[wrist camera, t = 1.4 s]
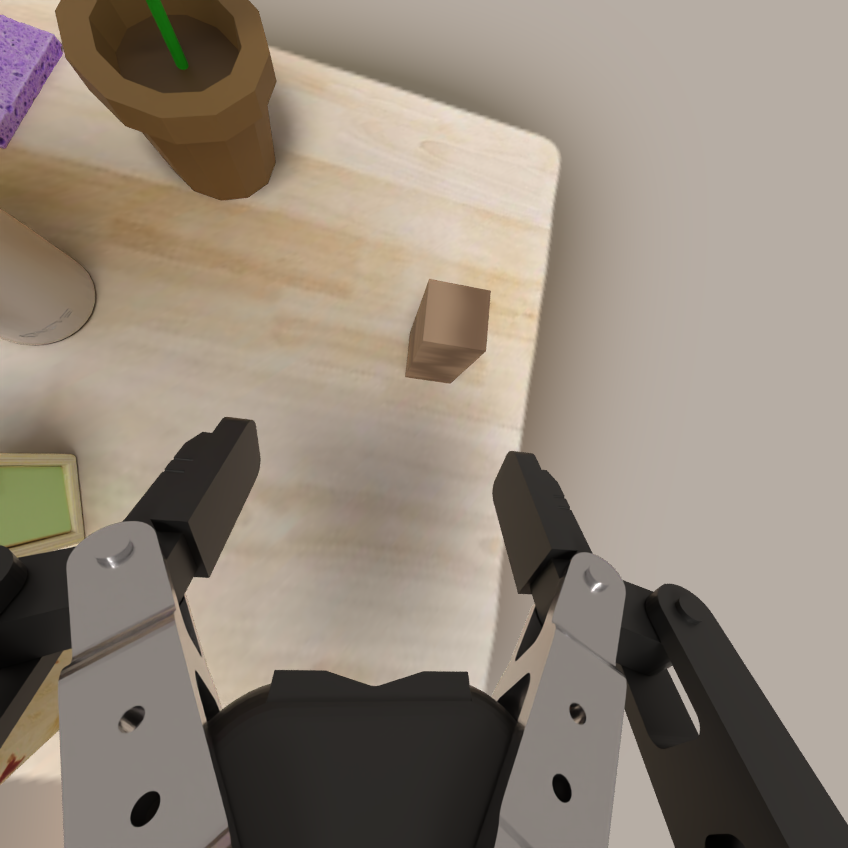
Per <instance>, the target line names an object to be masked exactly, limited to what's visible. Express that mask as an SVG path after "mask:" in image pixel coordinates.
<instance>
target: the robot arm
mask: <svg viewBox="0 0 848 848" xmlns="http://www.w3.org/2000/svg"><path fill="white" fill-rule="evenodd" d="M94 304H95V289H94V285H93V282H92V280H91V278H90V276H89V274H88V273H87V271H86V270H85V269H84V268H83V267H82V266H81V265H80V264H79V263H78V262H76V261H75V260H74V259H72V258H71V257H69V256H68V255H67V254H65V253H64V252H62V251H61V250H59V249H58V248H57V247H55V246H54V245H52V244H51V243H49V242H48V241H46V240H45V239H44V238H42V237H41V236H39V235H38V234H37V233H35V232H34V231H32V230H31V229H30V228H28V227H27V226H25V225H24V224H22V223H21V222H19V221H18V220H17V219H15V218H14V217H12V216H11V215H9V214H8V213H7V212H5V211H4V210H2V209H1V208H0V338H2V339H5V340H8V341H11V342H15V343H19V344H26V345H43V344H49V343H53V342H57V341H60V340H62V339H64V338H66V337H69V336H70V335H72V334H73V333H75V332H76V331H77V330H79V329H80V328H81V327H82V326H83V325H84V324H85V322H86V321H87V320H88V318H89V316H90V315H91V313H92V310H93V307H94ZM259 469H260V451H259V444H258V437H257V430H256V424H255V422H254V420H248V419H240V418H231V417H224V418H223V419H222V420H221V421H220V423H219V424H218V426H217V427H216V428H215V430H214V431H213V433H207V432H202V433H200V434H199V435H197V436H195V437H194V438H192V439H191V440H189V441H188V442H186V443H185V444H184V445H183V446H182V448H181V449H180V450H179V451H178V453H177V454H176V455H175V457H174V460H171V462H170V463H169V464H168V465H167V467H166V468H165V471H164V472H162V473H161V474H160V475H159V477H158V478H157V479H156V480H155V482H154V483H153V484H152V486H151V487H150V488H149V489H148V491H147V492H146V493H145V494H144V496H143V497H142V498H141V499H140V501H139V502H138V503H137V504H136V506H135V507H134V508H133V510H132V511H131V512H130V513H129V515H128V516H127V517H126V518H125V519H124V520H123V522H120V523H116V524H112V525H109V526H107V527H104V528H102V529H100V530H98V531H96V532H94V533H92V534H91V535H89V536H88V537H86V538H85V539H84V540H83V541H81V542H80V543H79V544H78V545H77V546H76V547H72V548H67V549H61V550H56V551H51V552H45V553H40V554H34V555H29V556H24V557H18V558H17V557H16V556H15V555H14V554H13V553H12V552H11V551H10V550H9V549H8V548H6V547H5V546H2V545H0V749H1V747H2V745H3V744H4V742H5V741H6V739H7V738H8V736H9V735H10V733H11V731H12V730H13V728H14V727H15V725H16V724H17V722H18V721H19V719H20V717H21V716H22V714H23V713H24V711H25V710H26V708H27V706H28V705H29V703H30V702H31V700H32V699H33V697H34V696H35V694H36V692H37V691H38V689H39V688H40V686H41V685H42V683H43V682H44V680H45V678H46V677H47V675H48V674H49V672H50V671H51V669H52V668H53V666H54V664H55V663H56V661H57V660H58V658H59V657H60V655H61V654H62V652H63V651H64V650H68V649H72V660H71V663H70V664H69V665H67V666H65V667H64V668H63V669H62V671H61V673H60V676H59V680H58V707H59V732H60V756H61V780H62V803H63V804H62V805H63V829H64V848H608V843H609V833H610V825H611V817H612V808H613V800H614V792H615V783H616V775H617V766H618V757H619V749H620V741H621V732H622V724H623V715H624V709H625V711H626V714H627V717H628V720H629V722H630V725H631V728H632V730H633V733H634V736H635V739H636V741H637V744H638V747H639V750H640V752H641V755H642V758H643V761H644V764H645V766H646V769H647V772H648V774H649V777H650V780H651V783H652V785H653V788H654V791H655V794H656V796H657V799H658V802H659V805H660V807H661V810H662V813H663V816H664V818H665V821H666V824H667V826H668V829H669V832H670V835H671V838H672V840H673V843H674V846H675V848H848V825H847V823H846V821H845V820H844V818H843V817H842V815H841V814H840V812H839V811H838V809H837V808H836V806H835V804H834V803H833V801H832V800H831V798H830V796H829V795H828V793H827V792H826V790H825V789H824V787H823V786H822V784H821V782H820V781H819V779H818V778H817V776H816V775H815V773H814V772H813V770H812V768H811V767H810V765H809V764H808V762H807V761H806V759H805V757H804V756H803V755H802V753H801V751H800V750H799V748H798V747H797V745H796V744H795V742H794V740H793V739H792V737H791V736H790V734H789V733H788V731H787V729H786V728H785V726H784V725H783V723H782V722H781V720H780V719H779V717H778V715H777V714H776V712H775V711H774V709H773V708H772V706H771V705H770V703H769V701H768V700H767V698H766V697H765V695H764V694H763V692H762V690H761V689H760V687H759V686H758V684H757V683H756V681H755V680H754V678H753V677H752V675H751V673H750V672H749V670H748V669H747V667H746V666H745V664H744V663H743V661H742V659H741V658H740V656H739V655H738V653H737V652H736V650H735V649H734V647H733V645H732V644H731V642H730V641H729V639H728V637H727V636H726V634H725V633H724V631H723V630H722V628H721V627H720V625H719V623H718V622H717V621H716V619H715V617H714V616H713V614H712V613H711V611H710V610H709V609H708V608H707V606H706V605H705V604H704V603H703V602H702V601H701V600H700V599H699V598H698V597H696V596H695V595H694V594H693V593H691V592H690V591H688V590H686V589H684V588H683V587H681V586H678V585H674V584H664V585H662V586H661V587H659V588H658V589H657V590H655V591H654V592H653V591H650V590H647V589H644V588H642V587H639V586H636V585H634V584H631V583H629V582H626V581H624V580H622V579H621V577H620V575H619V573H618V572H617V571H616V570H615V569H614V567H613V566H612V565H611V564H609V563H608V562H607V561H606V560H604V559H603V558H601V557H599V556H597V555H594V554H593V553H592V551H591V549H590V547H589V545H588V543H587V541H586V539H585V537H584V535H583V533H582V531H581V529H580V527H579V525H578V523H577V521H576V519H575V517H574V515H573V513H572V511H571V510H570V506H569V504H568V502H567V500H566V499H564V494H563V492H562V490H561V488H560V486H559V484H558V482H557V481H556V480H555V479H554V478H553V477H552V476H551V475H550V474H549V472H547V470H541V468H540V465H539V463H538V461H537V459H536V457H535V455H534V454H532V453H524V452H516V451H510V452H508V454H507V455H506V458H505V460H504V462H503V464H502V466H501V468H500V470H499V473H498V475H497V477H496V479H495V481H494V484H493V492H492V494H493V501H494V505H495V509H496V513H497V516H498V520H499V524H500V528H501V531H502V535H503V539H504V542H505V546H506V550H507V554H508V557H509V561H510V565H511V569H512V572H513V576H514V580H515V583H516V587H517V591H518V594H532V596H533V599H534V602H535V603H534V604H533V606H532V607H531V610H530V612H529V614H528V617H527V620H526V622H525V624H524V627H523V629H522V632H521V634H520V637H519V639H518V642H517V645H516V647H515V650H514V652H513V655H512V657H511V660H510V662H509V664H508V666H507V668H506V670H505V672H504V674H503V675H502V677H501V678H500V680H499V682H498V684H497V686H496V688H495V690H494V692H493V694H492V696H491V697H490V696H489V695H487V694H486V693H485V692H483V691H481V690H479V689H477V688H475V687H473V686H470V685H469V677H468V672H436V671H423V672H420V673H417V674H414V675H411V676H408V677H405V678H401V679H398V680H395V681H392V682H389V683H386V684H383V685H380V686H370V685H367V684H364V683H361V682H358V681H355V680H352V679H349V678H346V677H343V676H340V675H337V674H334V673H331V672H328V671H315V670H275V671H274V675H273V679H272V683H271V684H268V685H265V686H262V687H260V688H257V689H255V690H253V691H251V692H248V693H247V694H245V695H243V696H242V697H240V698H238V699H236V700H235V701H233V702H232V703H231V704H229V705H228V706H226V707H225V708H224V709H222V706H221V703H220V700H219V696H218V693H217V690H216V687H215V684H214V681H213V679H212V676H211V673H210V671H209V668H208V666H207V663H206V660H205V657H204V653H203V650H202V647H201V643H200V640H199V636H198V633H197V630H196V626H195V623H194V620H193V616H192V613H191V609H190V606H189V603H188V599H187V596H186V593H185V592H186V590H187V588H188V586H189V584H190V582H191V580H192V578H193V577H205V578H209V577H210V575H211V573H212V571H213V569H214V567H215V565H216V563H217V560H218V558H219V556H220V554H221V552H222V550H223V548H224V546H225V544H226V541H227V539H228V537H229V535H230V533H231V531H232V529H233V527H234V525H235V522H236V520H237V518H238V516H239V514H240V512H241V510H242V508H243V506H244V503H245V501H246V499H247V497H248V495H249V493H250V491H251V489H252V487H253V484H254V482H255V480H256V478H257V476H258V473H259ZM671 666H673V667H674V669H675V671H676V673H677V675H678V677H679V679H680V681H681V683H682V685H683V687H684V689H685V691H686V693H687V695H688V697H689V699H690V702H691V704H692V706H693V708H694V710H695V712H696V714H697V716H698V719H699V723H700V734H699V735H698V732H697V730H696V728H695V726H694V724H693V722H692V720H691V718H690V716H689V714H688V712H687V710H686V708H685V705H684V703H683V701H682V699H681V697H680V695H679V693H678V691H677V689H676V687H675V684H674V682H673V680H672V678H671V676H670V674H669V672H668V670H667V668H669V667H671Z"/></svg>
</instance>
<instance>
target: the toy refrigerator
mask: <svg viewBox="0 0 848 848" xmlns="http://www.w3.org/2000/svg"><path fill="white" fill-rule="evenodd" d="M83 540H84V527H83V519H82V510H81V501H80V493H79V484H78V474H77V464H76V457H75V456H74V455H72V454H25V453H0V545H2V546H5V547H6V548H8V549H9V550H10V551H11V552H12V553H13V554H14V555H15V556H16V557H17V558H18V557H24V556H29V555H34V554H40V553H45V552H51V551H54V550H58V549H61V548H64V547H68V546H71V545H74V544H77V543H80V542H81V541H83Z"/></svg>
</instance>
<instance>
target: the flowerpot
mask: <svg viewBox="0 0 848 848" xmlns="http://www.w3.org/2000/svg"><path fill="white" fill-rule="evenodd" d="M55 13H56V18H57V22H58V26H59V31H60V35H61V40H62V44H63V48H64V53H65V57H66V59H67V60H68V62H69V63H70V64H71V66H72V67H73V68H74V70H75V71H76V73H77V74H78V75H79V77H80V78H81V79H82V81H83V82H84V83H85V85H86V86H87V87H88V89H89V90H90V91H91V92H92V93H93V94H94V95H95V96H96V97H97V98H98V99H99V100H100V101H101V102H102V103H103V104H104V105H105V106H106V107H107V108H108V109H109V110H110V111H111V112H112V113H113V114H114V115H115V116H116V117H117V118H118V119H119V120H120V121H121V122H122V123H123V124H124V125H125V126H127V127H129V128H132V129H135V130H138V131H141V132H142V133H143V134H144V135H145V136H146V138H147V139H148V140H149V141H150V142H151V144H152V145H153V146H154V147H155V148H156V150H157V151H158V152H159V153H160V154H161V156H162V157H163V158H164V159H165V160H166V162H167V163H168V164H169V165H170V166H171V167H172V169H173V170H174V171H175V172H176V173H177V174H178V175H179V176H180V177H181V178H182V179H183V180H184V181H185V182H186V183H187V184H188V185H189V186H190V187H191V188H192V189H193V190H194V191H196V192H199V193H201V194H204V195H207V196H210V197H213V198H216V199H219V200H229V199H238V198H248V197H250V196H251V195H252V194H254V193H255V192H257V191H258V190H259V189H261V188H262V187H264V186H265V185H267V184H268V182H269V179H270V177H271V174H272V171H273V168H274V166H275V163H276V162H275V155H274V148H273V141H272V134H271V127H270V121H269V114H268V107H267V105H268V102H269V100H270V97H271V94H272V92H273V89H274V87H275V84H276V78H275V73H274V69H273V64H272V60H271V56H270V52H269V48H268V44H267V40H266V37H265V33H264V29H263V26H262V22H261V18H260V14H259V11H258V10H257V9H256V8H255V7H254V5H253V4H252V3H251V2H250V1H249V0H61V1H60V3H59V4H58V6H57V8H56V10H55Z"/></svg>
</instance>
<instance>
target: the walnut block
mask: <svg viewBox="0 0 848 848" xmlns="http://www.w3.org/2000/svg"><path fill="white" fill-rule="evenodd" d="M490 293H491V291H489V290H484V289H479V288H473V287H468V286H463V285H458V284H453V283H448V282H443V281H437V280H432V279H429V281H428V284H427V287H426V290H425V293H424V295H423V298H422V301H421V304H420V307H419V309H418V312H417V315H416V318H415V321H414V323H413V326H412V329H411V332H410V338H409V348H408V357H407V366H406V375H405V377H409V378H416V379H423V380H430V381H436V382H443V383H451V382H452V381H453V380H455V379H456V378H457V377H458V376H459V375H460V374H461V373H462V372H463V371H464V370H466V369H467V368H468V367H469V366H470V365H471V364H472V363H473V362H474V361H476V360H477V359H478V358H479V357H480V356H481V355H482V354H483V353H484V352H485V351H486V344H487V331H488V319H489V306H490Z"/></svg>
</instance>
